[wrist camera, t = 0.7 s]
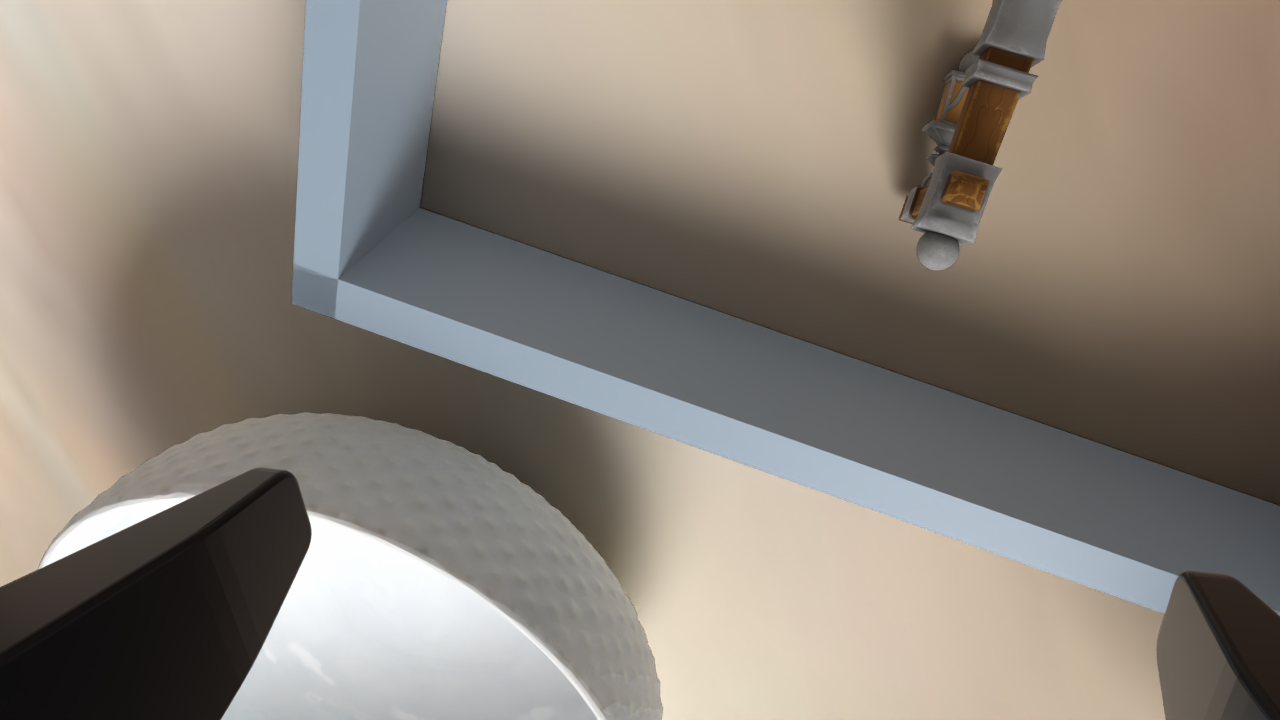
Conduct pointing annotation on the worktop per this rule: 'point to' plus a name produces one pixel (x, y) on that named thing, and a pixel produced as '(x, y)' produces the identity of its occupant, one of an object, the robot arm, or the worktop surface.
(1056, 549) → the open box
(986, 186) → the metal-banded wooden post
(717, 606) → the worktop surface
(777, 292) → the worktop surface
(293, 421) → the cereal bowl
